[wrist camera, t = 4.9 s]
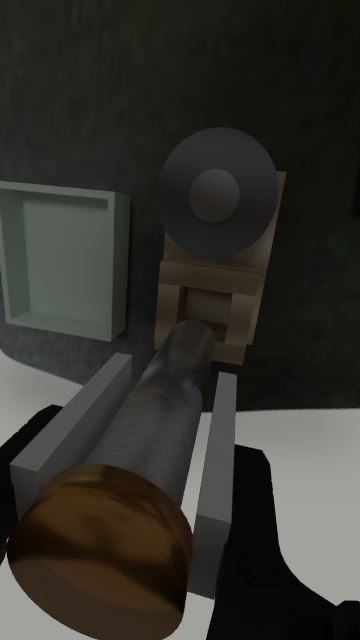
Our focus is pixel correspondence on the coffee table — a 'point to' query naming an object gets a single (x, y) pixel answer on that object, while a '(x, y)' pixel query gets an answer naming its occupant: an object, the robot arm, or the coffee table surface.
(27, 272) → the tray
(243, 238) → the block
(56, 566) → the lock pin
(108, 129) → the coffee table surface
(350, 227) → the coffee table surface
